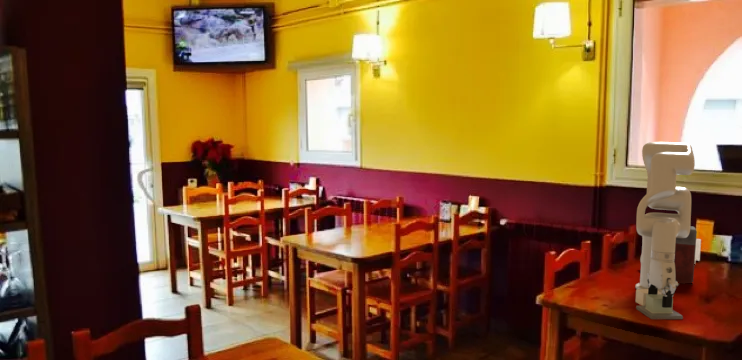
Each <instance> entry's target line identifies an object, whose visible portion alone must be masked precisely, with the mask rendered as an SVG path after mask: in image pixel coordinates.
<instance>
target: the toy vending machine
mask: <svg viewBox="0 0 742 360" xmlns="http://www.w3.org/2000/svg"><path fill="white" fill-rule="evenodd" d="M697 233H698V232H697V229H696V227H695V226H691V225H690V233H689V235H688V237H686V238H676V243H675V258H674V263H675V281H677V282H679V283H678V284H685V283H692V282H693V283H694V278H695V277H694V276H695V275H694V273H695V265H694V263H695V264H696V262H695V249H696V239H697V235H698V234H697Z"/></svg>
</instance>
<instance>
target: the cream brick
mask: <svg viewBox="0 0 742 360" xmlns="http://www.w3.org/2000/svg"><path fill="white" fill-rule="evenodd" d="M635 289H636V290H635V303H636V304H639V306H646V294H648V289H637V288H635ZM657 295H663V294H662V293H661V292H659V291H658V293H657Z"/></svg>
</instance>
